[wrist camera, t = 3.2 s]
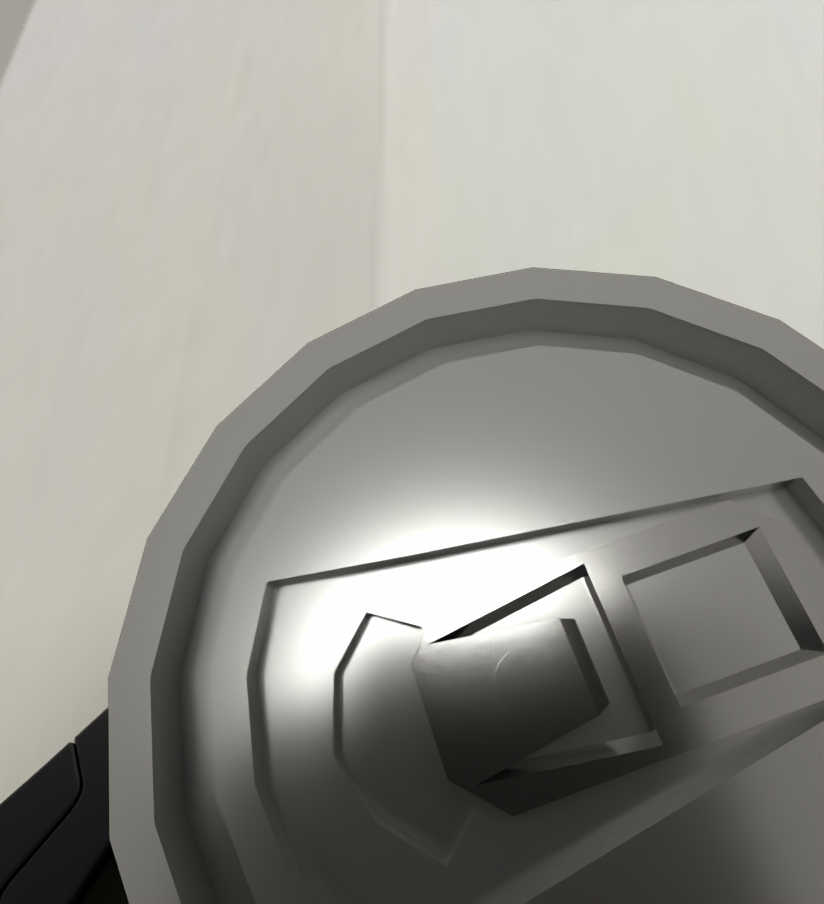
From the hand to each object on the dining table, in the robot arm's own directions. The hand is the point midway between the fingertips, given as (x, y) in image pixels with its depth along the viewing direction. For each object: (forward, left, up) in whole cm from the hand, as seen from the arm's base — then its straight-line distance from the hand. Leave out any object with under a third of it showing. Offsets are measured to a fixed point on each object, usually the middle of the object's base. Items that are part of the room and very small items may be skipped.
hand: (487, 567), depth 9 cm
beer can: (-1, 0, -7) cm, 7 cm away
